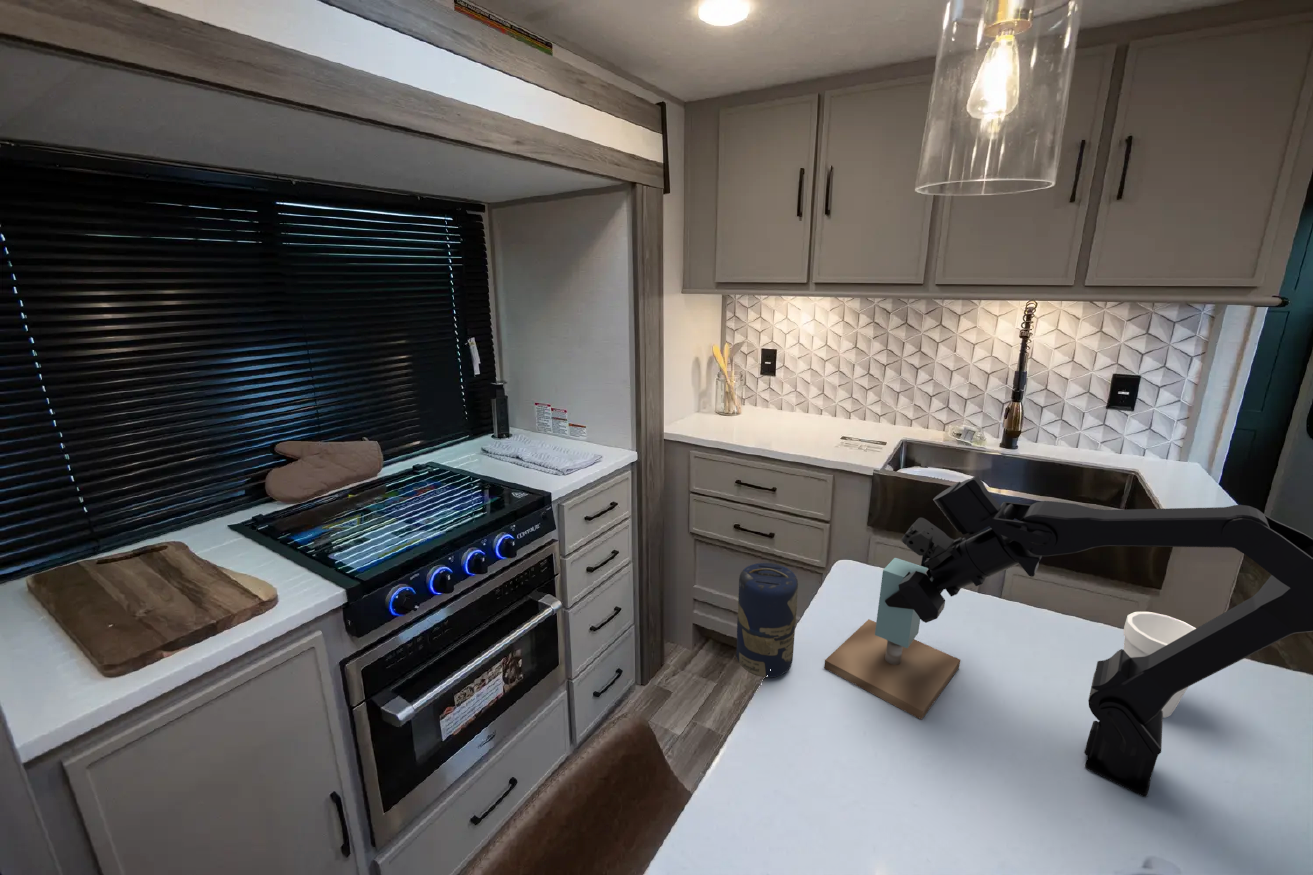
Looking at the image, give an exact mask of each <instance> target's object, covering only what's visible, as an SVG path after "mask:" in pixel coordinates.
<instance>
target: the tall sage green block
mask: <svg viewBox="0 0 1313 875" xmlns="http://www.w3.org/2000/svg"><path fill="white" fill-rule="evenodd" d="M927 569H928V568H926V567H923V566H921V564H920V565H919V564H916V563H913V562H911V561H907V560H904V559H901V558H897V557H894V558H893V559H892V560H891V561H890V562H889V563H888V564H887V565H886V566H885V567H884V568H883V570H882V574H881V575H882V576H881V583H880V592H879V597H878V598H879V600H878V607H877V614H876V621H875V622H876V629H875V635H876V636H878V637H881V638H883V639H886V640H888V641H891V642H893V643H895V644H898V645H900V646H903V647H905V648H908V647H909V646H910V644H911V643H912V641H913V640H914V639H915V638H916V637H917V636H918V634H919V629H920V623H921V619H920V617H919V616H918V615H917V613H916V612H915V611H914V610H912V609H905V608H896V607H889V606H888V605H887V604H886V603H885V600H886V599H887V598H888V597H890V596H891V595H892V594H894V593H895V592H896V591H898V590H899V586H898V585H899V584H900V582H901V581H902V580H903V578H904V577H905V576H906V575H907V573H908V572H910V573H913V572H915V571H918V572H921V573H924V574H925V572H926V571H927Z"/></svg>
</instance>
